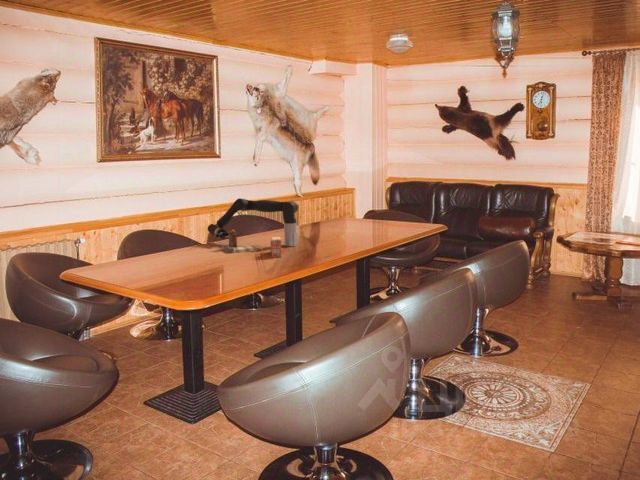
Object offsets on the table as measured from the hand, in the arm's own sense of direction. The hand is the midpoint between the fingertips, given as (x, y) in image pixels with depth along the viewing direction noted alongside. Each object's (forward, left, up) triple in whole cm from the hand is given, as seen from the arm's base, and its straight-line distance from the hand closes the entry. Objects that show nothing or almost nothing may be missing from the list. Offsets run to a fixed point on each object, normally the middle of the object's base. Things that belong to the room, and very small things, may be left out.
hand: (227, 236), depth 453 cm
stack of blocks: (-46, +12, -9) cm, 48 cm away
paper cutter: (-15, +5, -8) cm, 18 cm away
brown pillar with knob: (-8, +6, -8) cm, 13 cm away
